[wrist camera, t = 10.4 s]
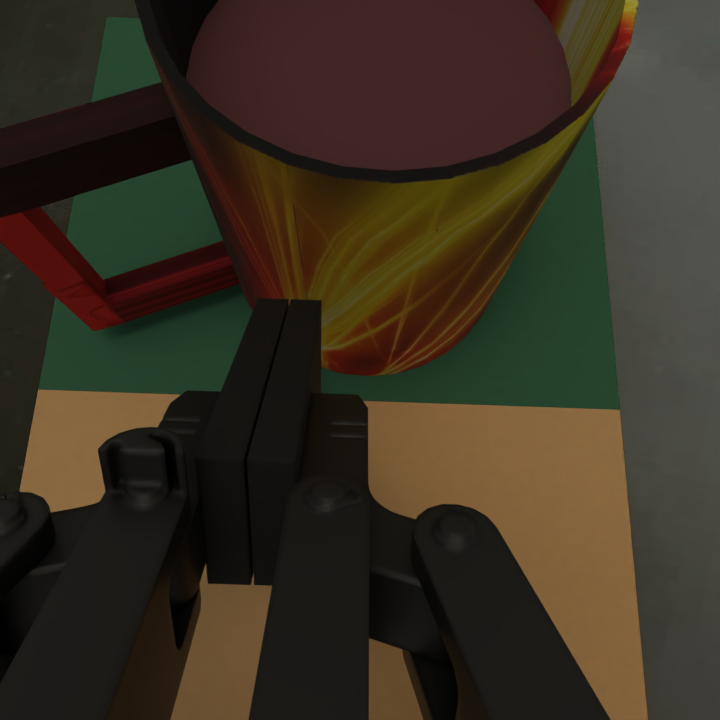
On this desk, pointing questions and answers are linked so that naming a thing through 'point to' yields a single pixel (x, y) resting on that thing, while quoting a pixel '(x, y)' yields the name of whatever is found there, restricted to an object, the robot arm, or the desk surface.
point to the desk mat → (375, 417)
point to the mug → (330, 158)
